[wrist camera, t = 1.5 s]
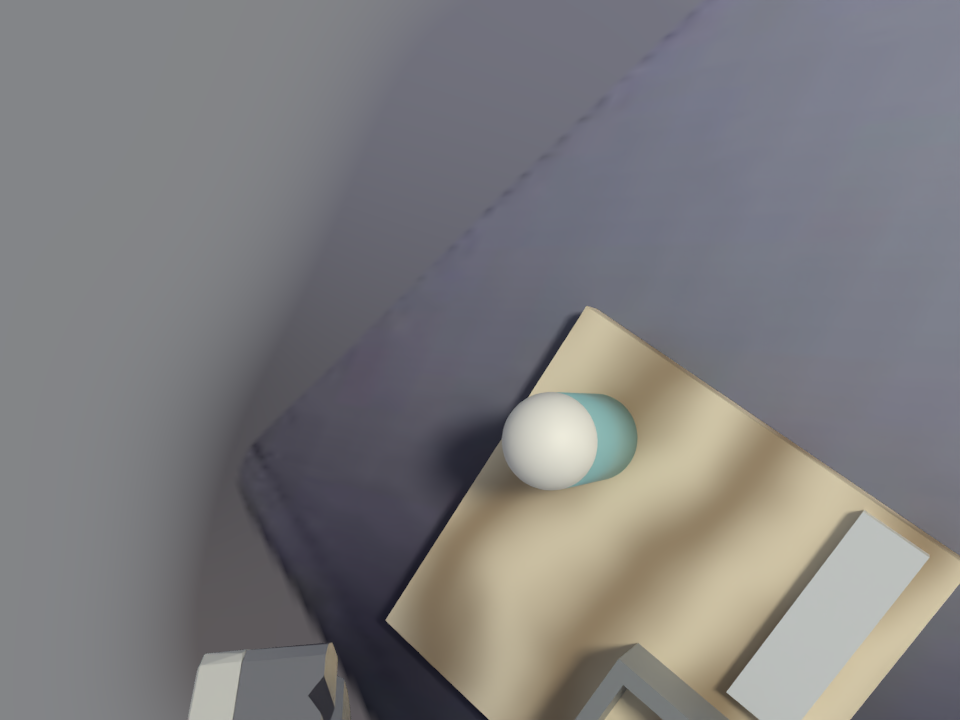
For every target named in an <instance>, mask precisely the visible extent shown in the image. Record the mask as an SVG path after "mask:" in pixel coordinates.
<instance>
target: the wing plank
mask: <svg viewBox="0 0 960 720" xmlns="http://www.w3.org/2000/svg"><path fill="white" fill-rule="evenodd" d="M929 558H930V555H929V554H928V553H926V552H925V551H923V550H922V549H920V548H919V547H918V546H916V545H915V544H913V543H912V542H910V541H909V540H907V539H906V538H904V537H903V536H902V535H900V534H899V533H897V532H896V531H894V530H893V529H891V528H890V527H889V526H887V525H886V524H884V523H883V522H881V521H880V520H878V519H877V518H875V517H874V516H873V515H871V514H870V513H868V512H867V511H865V510H864V511H863V512H862V514H861V515H860V516H859V518H858V519H857V520H856V522H855V523H854V524H853V525H852V527H851V528H850V529H849V531H848V532H847V533H846V535H845V536H844V537H843V539H842V540H841V541H840V543H839V544H838V545H837V547H836V548H835V549H834V551H833V552H832V553H831V554H830V556H829V557H828V558H827V560H826V561H825V562H824V564H823V565H822V566H821V568H820V569H819V570H818V572H817V573H816V574H815V576H814V577H813V578H812V580H811V581H810V582H809V583H808V585H807V586H806V587H805V589H804V590H803V591H802V593H801V594H800V595H799V597H798V598H797V599H796V601H795V602H794V603H793V605H792V606H791V607H790V609H789V610H788V611H787V612H786V614H785V615H784V616H783V618H782V619H781V620H780V622H779V623H778V624H777V626H776V627H775V628H774V630H773V631H772V632H771V634H770V635H769V636H768V638H767V639H766V640H765V641H764V643H763V644H762V645H761V647H760V648H759V649H758V651H757V652H756V653H755V655H754V656H753V657H752V659H751V660H750V661H749V663H748V664H747V665H746V666H745V668H744V669H743V670H742V672H741V673H740V674H739V676H738V677H737V678H736V680H735V681H734V682H733V684H732V685H731V686H730V688H729V689H728V690H727V693H728V694H729V695H730V696H731V697H733V698H734V699H735V700H736V701H737V702H739V703H740V704H741V705H742V706H743V707H745V708H746V709H747V710H748V711H749V712H751V713H752V714H753V715H754V716H756V717H757V718H758V719H759V720H802V719H803V717H804V716H805V715H806V714H807V712H808V711H809V710H810V709H811V707H812V706H813V705H814V703H815V702H816V701H817V700H818V698H819V697H820V696H821V695H822V693H823V692H824V691H825V690H826V688H827V687H828V686H829V684H830V683H831V682H832V681H833V679H834V678H835V677H836V676H837V674H838V673H839V672H840V671H841V669H842V668H843V667H844V665H845V664H846V663H847V662H848V660H849V659H850V658H851V657H852V655H853V654H854V653H855V652H856V650H857V649H858V648H859V646H860V645H861V644H862V643H863V641H864V640H865V639H866V638H867V636H868V635H869V634H870V632H871V631H872V630H873V629H874V627H875V626H876V625H877V624H878V622H879V621H880V620H881V619H882V617H883V616H884V615H885V613H886V612H887V611H888V610H889V608H890V607H891V606H892V605H893V603H894V602H895V601H896V600H897V598H898V597H899V596H900V594H901V593H902V592H903V591H904V589H905V588H906V587H907V586H908V584H909V583H910V582H911V580H912V579H913V578H914V577H915V575H916V574H917V573H918V572H919V570H920V569H921V568H922V567H923V565H924V564H925V563H926V561H927V560H928V559H929Z"/></svg>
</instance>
